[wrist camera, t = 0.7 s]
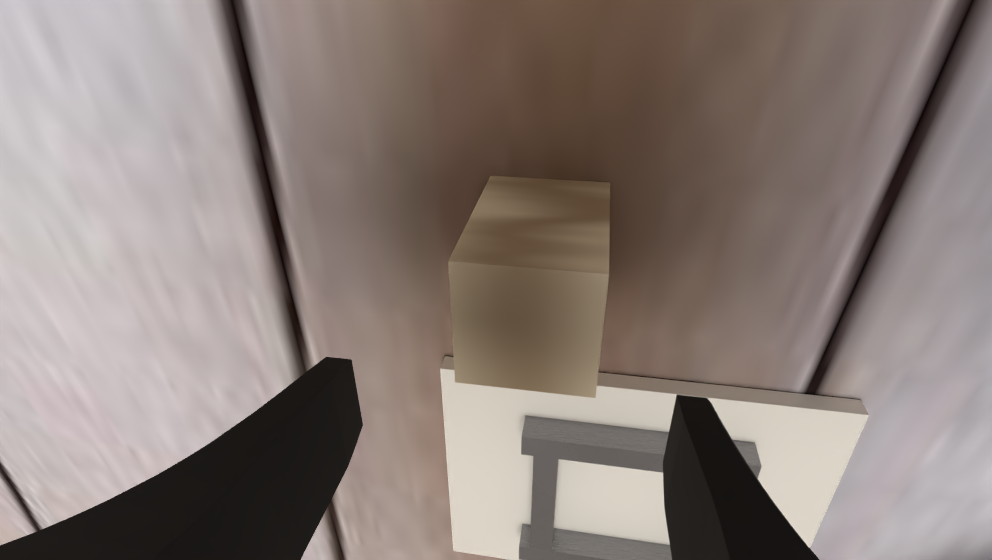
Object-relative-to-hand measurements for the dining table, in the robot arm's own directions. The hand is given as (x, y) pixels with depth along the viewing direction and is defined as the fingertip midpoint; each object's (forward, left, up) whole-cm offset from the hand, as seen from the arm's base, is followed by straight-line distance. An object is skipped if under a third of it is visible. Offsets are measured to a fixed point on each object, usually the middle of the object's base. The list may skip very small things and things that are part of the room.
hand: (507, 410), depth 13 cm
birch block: (0, 0, -9) cm, 9 cm away
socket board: (-4, +12, -9) cm, 15 cm away
